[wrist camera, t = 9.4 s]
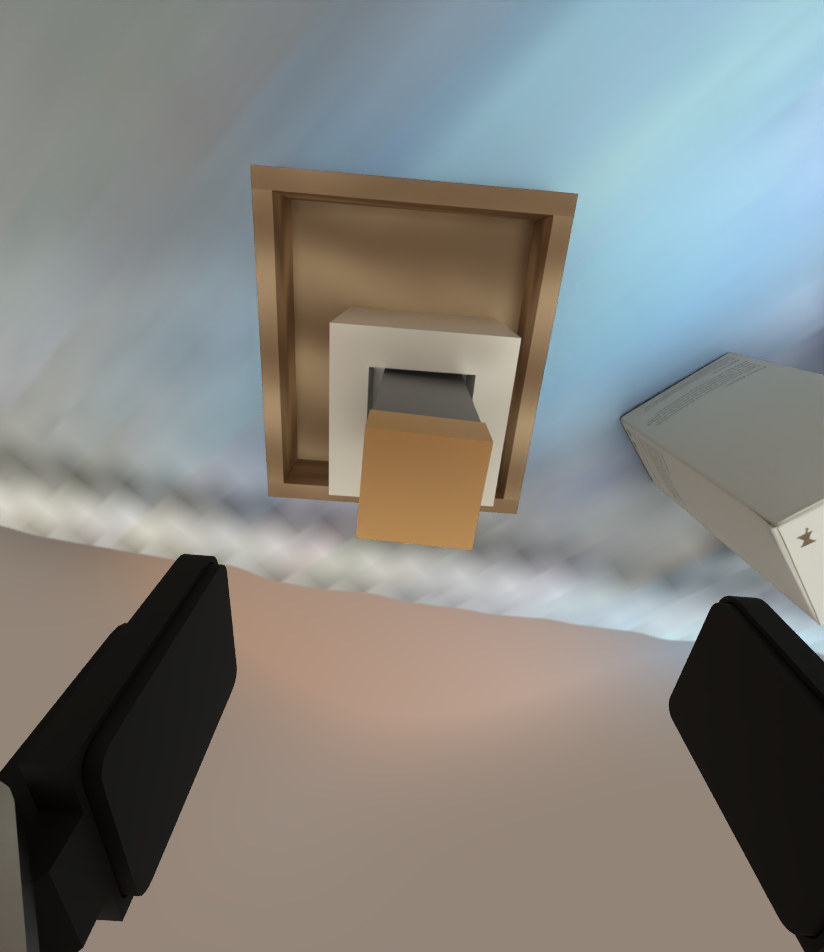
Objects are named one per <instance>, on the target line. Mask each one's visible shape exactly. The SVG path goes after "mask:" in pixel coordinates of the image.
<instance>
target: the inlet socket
mask: <svg viewBox="0 0 824 952" xmlns="http://www.w3.org/2000/svg"><path fill="white" fill-rule="evenodd" d="M520 343H521V337H519V336H518V335H517V334H515V333H514V332H513V331H511V330H510V329H509V328H507V327H506V326H505V325H503V324H502V323H501V322H499V321H498V320H497V319H495V318H485V317H472V316H460V315H448V314H436V313H423V312H411V311H399V310H387V309H375V308H362V307H350V308H348V309H347V310H346V311H344V312H343V313H342V314H340V315H339V316H338V317H336V318H335V319H334V320H332V321H331V322H330V344H329V495H339V496H353V497H359V495H360V482H361V470H362V458H363V445H364V433H365V426H366V422H367V419H368V415H369V412H370V409H371V410H374V406H375V403H376V399H377V395H378V392H379V388H380V384H381V381H382V377H383V373H384V370H385V368H391V369H404V370H417V371H430V372H442V373H455V374H462V376H463V379H464V381H465V384H466V386H467V389H468V391H469V394H470V396H471V399H472V401H473V404H474V406H475V409H476V411H477V414H478V416H479V419H480V421H481V422H484V423H486V426H487V428H488V430H489V433H490V435H491V437H492V440H493V447H492V452H491V457H490V462H489V467H488V472H487V477H486V482H485V487H484V491H483V496H482V501H481V506H493V504H494V498H495V492H496V486H497V480H498V474H499V468H500V462H501V456H502V450H503V444H504V438H505V433H506V427H507V421H508V415H509V409H510V403H511V397H512V391H513V385H514V379H515V373H516V367H517V361H518V355H519V349H520Z"/></svg>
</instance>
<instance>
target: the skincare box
mask: <svg viewBox="0 0 824 952" xmlns="http://www.w3.org/2000/svg"><path fill="white" fill-rule="evenodd" d="M621 422H622V424H623V426H624V428H625V430H626V432H627V434H628V436H629V438H630V440H631V442H632V444H633V445H634V447H635V449H636V451H637V453H638V454H639V456H640V458H641V460H642V462H643V464H644V466H645V468H646V469H647V471H648V473H649V475H650V477H651V478H652V480H653V482H654V484H655V485H656V486H657V487H659V488H660V489H661V490H662V491H663V492H665V493H666V494H667V495H668V496H669V497H670V498H672V499H673V500H674V501H675V502H676V503H677V504H679V505H680V506H681V507H682V508H683V509H684V510H686V511H687V512H688V513H689V514H690V515H691V516H693V517H694V518H695V519H696V520H697V521H698V522H699V523H701V524H702V525H703V526H704V527H705V528H707V529H708V530H709V531H710V532H711V533H712V534H714V535H715V536H716V537H717V538H718V539H719V540H721V541H722V542H723V543H724V544H725V545H727V546H728V547H729V548H730V549H731V550H732V551H733V552H735V553H736V554H737V555H738V556H739V557H741V558H742V559H743V560H744V561H745V562H746V563H747V564H749V565H750V566H751V567H752V568H754V569H755V570H756V571H757V572H758V573H759V574H761V575H762V576H763V577H764V578H765V579H766V580H767V581H769V582H770V583H771V584H772V585H773V586H774V587H776V588H777V589H778V590H779V591H780V592H781V593H783V594H784V595H785V596H787V597H788V598H789V599H790V600H791V601H792V602H793V603H794V604H796V605H797V606H798V607H799V608H800V609H801V610H803V611H804V612H805V613H806V614H807V615H809V616H810V617H811V618H812V619H813V620H814V621H816V622H817V623H818V624H819V625H820V626H823V625H824V375H821V374H818V373H813V372H809V371H804V370H800V369H796V368H792V367H788V366H784V365H780V364H776V363H772V362H768V361H763V360H759V359H755V358H751V357H747V356H743V355H739V354H734V353H731V352H730V353H727V354H726V355H724V356H722V357H721V358H719V359H717V360H716V361H714V362H712V363H711V364H709V365H707V366H705V367H704V368H702V369H700V370H699V371H697V372H695V373H694V374H692V375H690V376H689V377H687V378H685V379H684V380H682V381H680V382H679V383H677V384H675V385H674V386H672V387H670V388H669V389H667V390H665V391H664V392H662V393H660V394H659V395H657V396H655V397H654V398H652V399H651V400H649V401H647V402H646V403H644V404H642V405H641V406H639V407H637V408H636V409H634V410H632V411H631V412H629V413H627V414H626V415H624V416H623V417H622V418H621Z"/></svg>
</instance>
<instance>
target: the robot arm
mask: <svg viewBox="0 0 824 952" xmlns="http://www.w3.org/2000/svg"><path fill="white" fill-rule="evenodd" d="M235 656H236V655H235V647H234V637H233V626H232V616H231V607H230V599H229V588H228V578H227V570H226V567H225V565H218V562H217V559H216V558H215V557H214V556H204V555H191V554H183V555H181V556H180V557H179V558H178V559H177V560H176V561H175V563H174V564H173V565H172V566H171V568H170V569H169V570H168V572H167V573H166V574H165V575H164V577H163V578H162V579H161V581H160V582H159V583H158V585H157V586H156V587H155V589H154V590H153V591H152V592H151V593H150V595H149V596H148V597H147V599H146V600H145V601H144V602H143V604H142V605H141V606H140V608H139V609H138V610H137V612H136V613H135V614H134V615H133V617H132V618H131V619H130V620H129V622H128V623H124V624H122V625H120V626H118V627H117V628H116V629H115V630H114V631H113V632H112V633H111V634H110V635H109V637H108V638H107V639H106V640H105V642H104V643H103V644H102V645H101V647H100V648H99V649H98V650H97V652H96V653H95V654H94V655H93V657H92V658H91V659H90V661H89V662H88V663H87V664H86V665H85V667H84V668H83V669H82V670H81V672H80V673H79V674H78V675H77V677H76V678H75V679H74V680H73V682H72V683H71V684H70V685H69V687H68V688H67V689H66V690H65V692H64V693H63V694H62V695H61V697H60V698H59V699H58V700H57V702H56V703H55V704H54V705H53V707H52V708H51V709H50V710H49V712H48V713H47V714H46V715H45V717H44V718H43V719H42V720H41V722H40V723H39V724H38V725H37V727H36V728H35V729H34V730H33V732H32V733H31V734H30V736H29V737H28V738H27V739H26V740H25V742H24V743H23V744H22V745H21V747H20V748H19V749H18V750H17V752H16V753H15V754H14V755H13V757H12V758H11V759H10V760H9V762H8V763H7V764H6V765H5V767H4V768H3V769H2V770H1V772H0V952H78V951H79V950H81V949H82V948H83V947H84V945H85V942H86V940H87V938H88V936H89V934H90V932H91V930H92V928H93V926H94V924H95V922H96V920H110V921H123V919H124V916H125V914H126V912H127V910H128V907H129V905H130V903H131V900H132V898H133V896H142V895H143V894H144V893H145V892H146V890H147V888H148V887H149V885H150V883H151V881H152V879H153V876H154V874H155V871H156V869H157V867H158V864H159V862H160V860H161V857H162V855H163V853H164V850H165V848H166V846H167V843H168V841H169V838H170V836H171V834H172V831H173V829H174V826H175V824H176V822H177V820H178V817H179V815H180V812H181V810H182V808H183V805H184V803H185V801H186V798H187V796H188V794H189V791H190V789H191V786H192V784H193V782H194V779H195V777H196V775H197V772H198V770H199V767H200V765H201V763H202V760H203V758H204V756H205V753H206V751H207V749H208V746H209V744H210V741H211V739H212V736H213V734H214V732H215V730H216V727H217V725H218V722H219V720H220V718H221V715H222V713H223V711H224V708H225V706H226V704H227V701H228V699H229V696H230V694H231V692H232V689H233V687H234V683H235V679H236V673H237V665H236V657H235ZM669 711H670V715H671V718H672V720H673V722H674V723H675V726H676V727H677V729H678V731H679V733H680V735H681V737H682V739H683V740H684V742H685V744H686V746H687V748H688V750H689V752H690V754H691V755H692V757H693V759H694V761H695V763H696V765H697V766H698V768H699V770H700V772H701V774H702V776H703V778H704V779H705V781H706V783H707V785H708V787H709V789H710V791H711V792H712V794H713V796H714V798H715V800H716V802H717V804H718V805H719V807H720V809H721V811H722V813H723V815H724V817H725V819H726V821H727V822H728V824H729V826H730V828H731V830H732V832H733V833H734V835H735V837H736V839H737V841H738V843H739V845H740V846H741V848H742V850H743V852H744V854H745V856H746V858H747V860H748V861H749V863H750V865H751V867H752V869H753V871H754V873H755V875H756V876H757V878H758V880H759V882H760V884H761V886H762V887H763V889H764V891H765V893H766V895H767V897H768V899H769V901H770V902H771V904H772V906H773V908H774V910H775V912H776V914H777V915H778V917H779V919H780V920H781V922H782V924H783V925H784V926H785V927H786V928H787V929H788V930H789V931H790V932H792V933H793V934H795V935H796V937H797V939H798V941H799V943H800V944H801V946H802V948H803V950H804V952H824V661H823V660H822V659H821V658H820V657H819V656H818V655H817V654H816V653H815V652H814V651H813V650H812V649H811V648H810V647H809V646H808V645H807V644H806V643H805V642H804V641H803V640H802V639H801V638H800V637H799V636H798V635H797V634H796V633H795V632H794V631H793V630H792V629H791V628H790V627H789V626H788V625H787V624H786V623H785V622H784V621H783V620H782V618H781V617H780V616H779V615H778V614H777V613H776V612H775V611H774V610H773V609H772V608H771V607H770V606H769V605H768V604H767V603H766V602H764V601H763V600H761V599H758V598H750V597H737V596H725V597H723V598H722V599H721V600H720V601H719V603H715V604H714V605H713V606H712V607H711V609H710V611H709V613H708V615H707V618H706V620H705V622H704V624H703V626H702V629H701V631H700V633H699V635H698V637H697V640H696V642H695V644H694V646H693V648H692V651H691V653H690V655H689V657H688V659H687V662H686V664H685V666H684V668H683V670H682V673H681V675H680V677H679V679H678V681H677V683H676V686H675V688H674V690H673V692H672V694H671V697H670V700H669Z"/></svg>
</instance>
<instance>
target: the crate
mask: <svg viewBox="0 0 824 952" xmlns="http://www.w3.org/2000/svg"><path fill="white" fill-rule="evenodd" d="M250 167H251V186H252V204H253V222H254V241H255V259H256V277H257V296H258V314H259V332H260V351H261V369H262V387H263V406H264V424H265V442H266V461H267V479H268V496H272V497H286V498H300V499H315V500H329V501H343V502H357V503H359V497H353V496H339V495H329V344H330V322H331V321H332V320H334V319H335V318H336V317H338V316H339V315H340V314H342V313H343V312H344V311H346V310H347V309H348V308H350V307H362V308H375V309H387V310H399V311H411V312H423V313H436V314H448V315H460V316H472V317H485V318H495V319H497V320H498V321H499V322H501V323H502V324H503V325H505V326H506V327H507V328H509V329H510V330H511V331H513V332H514V333H515V334H517V335H518V336H519V337H521V343H520V349H519V355H518V361H517V367H516V373H515V379H514V385H513V391H512V397H511V403H510V409H509V415H508V421H507V427H506V433H505V438H504V444H503V450H502V456H501V462H500V468H499V474H498V480H497V486H496V492H495V498H494V504H493V506H480V511H484V512H498V513H512V514H517V509H518V503H519V498H520V493H521V488H522V483H523V477H524V472H525V467H526V462H527V457H528V451H529V446H530V441H531V436H532V431H533V425H534V420H535V415H536V410H537V405H538V400H539V394H540V389H541V384H542V379H543V374H544V368H545V363H546V358H547V353H548V348H549V342H550V337H551V332H552V327H553V322H554V316H555V311H556V306H557V301H558V296H559V290H560V285H561V280H562V275H563V270H564V264H565V259H566V254H567V249H568V244H569V239H570V233H571V228H572V223H573V218H574V213H575V207H576V202H577V197H578V194H575V193H564V192H552V191H541V190H530V189H519V188H507V187H496V186H485V185H474V184H463V183H451V182H440V181H429V180H418V179H407V178H395V177H384V176H373V175H362V174H351V173H339V172H328V171H317V170H306V169H295V168H283V167H272V166H261V165H250Z"/></svg>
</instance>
